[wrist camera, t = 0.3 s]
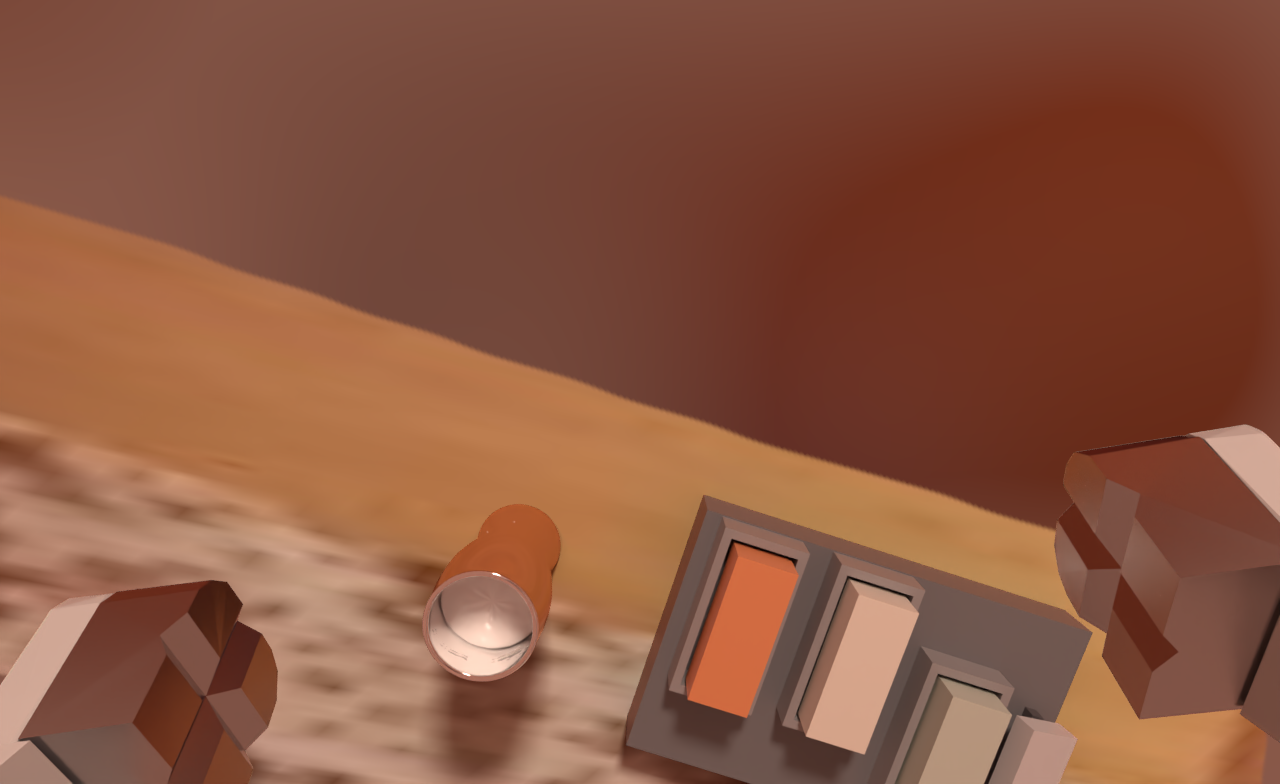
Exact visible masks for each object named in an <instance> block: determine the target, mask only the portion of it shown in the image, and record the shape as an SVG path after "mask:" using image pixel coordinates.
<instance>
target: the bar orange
mask: <svg viewBox="0 0 1280 784" xmlns="http://www.w3.org/2000/svg"><path fill="white" fill-rule="evenodd" d="M798 577H799V575H798V573H797V571H796V569H795V567H794V565H793V563H792V561H791V559H787V558H784V557H781V556H778V555H775V554H772V553H769V552H765V551H762V550H759V549H756V548H753V547H750V546H747V545H743V544H740V543H737V542H733V544H732V547H731V550H730V553H729V556H728V559H727V561H726V564H725V567H724V570H723V573H722V576H721V579H720V581H719V584H718V587H717V590H716V593H715V596H714V598H713V601H712V604H711V607H710V610H709V613H708V615H707V618H706V621H705V624H704V627H703V630H702V632H701V635H700V638H699V641H698V644H697V647H696V650H695V652H694V655H693V658H692V661H691V664H690V667H689V669H688V672H687V675H686V688H687V699H688V700H690V701H694V702H697V703H700V704H703V705H706V706H710V707H713V708H716V709H719V710H722V711H726V712H729V713H732V714H735V715H739V716H742V717H745V718H747V716H748V714H749V711H750V708H751V705H752V703H753V700H754V697H755V694H756V692H757V689H758V686H759V683H760V681H761V678H762V675H763V672H764V670H765V667H766V664H767V662H768V659H769V656H770V653H771V651H772V648H773V645H774V642H775V640H776V637H777V634H778V631H779V629H780V626H781V623H782V620H783V618H784V615H785V612H786V609H787V607H788V604H789V601H790V599H791V596H792V593H793V590H794V588H795V585H796V582H797V579H798Z"/></svg>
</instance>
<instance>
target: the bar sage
mask: <svg viewBox="0 0 1280 784" xmlns="http://www.w3.org/2000/svg"><path fill="white" fill-rule="evenodd" d="M1011 717H1012V714H1011V713H1010V712H1009V711H1008V709H1007V708H1006V707H1005V706H1004V705H1003V703H1002V702H1001V701H1000V700H999V699H998V697H997V696H996V695H995V694H994V692H990V691H987V690H984V689H981V688H978V687H974V686H971V685H968V684H965V683H962V682H959V681H955V680H952V679H949V678H946V677H943V676H940V675H937V678H936V680H935V683H934V685H933V688H932V690H931V693H930V696H929V698H928V701H927V703H926V706H925V708H924V711H923V713H922V716H921V718H920V721H919V723H918V726H917V728H916V731H915V734H914V736H913V739H912V741H911V744H910V746H909V749H908V751H907V754H906V756H905V759H904V761H903V764H902V766H901V769H900V772H899V774H898V777H897V779H896V782H895V784H984V782H985V780H986V778H987V775H988V773H989V770H990V768H991V765H992V763H993V760H994V758H995V756H996V753H997V751H998V748H999V746H1000V743H1001V741H1002V739H1003V736H1004V734H1005V731H1006V729H1007V726H1008V724H1009V722H1010V719H1011Z"/></svg>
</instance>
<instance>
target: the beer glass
mask: <svg viewBox="0 0 1280 784" xmlns="http://www.w3.org/2000/svg"><path fill="white" fill-rule="evenodd" d="M560 549H561V542H560V536H559V533H558V530H557V528H556V526H555V524H554V523H553V521H552V520H551V519H550V518H549V517H548V516H547V515H546V514H545V513H544V512H542V511H541V510H539V509H537V508H535V507H532V506H529V505H524V504H513V505H508V506H505V507H502V508H500V509H498V510H496V511H495V512H493V513H492V514H491V515H490V516H489V517H488V518H487V519H486V520H485V522H484V523H483V525H482V527H481V529H480V531H479V534H478V538H477V539H476V540H474V541H472V542H471V543H469V544H468V545H467V546H465V547H464V548H463V549H462V550H460V551H459V552H458V553H457V554H456V555H455V556H454V557H453V559H452V560H451V561H450V562H449V564H448V565H447V566H446V568H445V569H444V571H443V572H442V574H441V576H440V577H439V579H438V581H437V583H436V585H435V587H434V590H433V592H432V594H431V596H430V598H429V600H428V602H427V604H426V606H425V610H424V613H423V620H422V629H423V636H424V640H425V643H426V645H427V648H428V650H429V652H430V653H431V655H432V656H433V658H434V659H435V660H436V661H437V662H438V663H439V664H440V665H441V666H442V667H443V668H444V669H445V670H447V671H448V672H450V673H451V674H453V675H455V676H457V677H460V678H463V679H466V680H470V681H477V682H487V681H494V680H498V679H501V678H504V677H506V676H509V675H510V674H512V673H514V672H515V671H517V670H518V669H519V668H520V667H522V666H523V665H524V664H525V662H526V661H527V660H528V659H529V657H530V656H531V654H532V652H533V650H534V648H535V646H536V643H537V641H538V639H539V637H540V635H541V633H542V631H543V629H544V626H545V623H546V621H547V618H548V615H549V611H550V606H551V601H552V578H551V571H552V570H553V568H554V567H555V565H556V563H557V561H558V558H559V555H560Z"/></svg>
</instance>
